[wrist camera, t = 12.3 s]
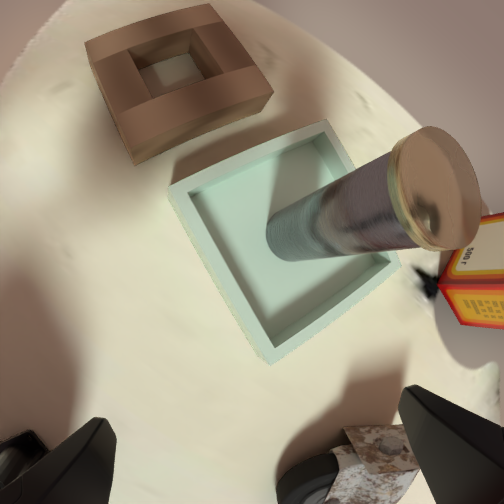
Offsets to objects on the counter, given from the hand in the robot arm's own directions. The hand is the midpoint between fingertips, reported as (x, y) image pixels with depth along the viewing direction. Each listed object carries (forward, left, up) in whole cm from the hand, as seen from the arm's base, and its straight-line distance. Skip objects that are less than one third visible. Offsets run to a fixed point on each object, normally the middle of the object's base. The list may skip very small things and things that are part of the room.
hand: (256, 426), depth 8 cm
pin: (+9, +3, -11) cm, 14 cm away
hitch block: (+7, +17, -12) cm, 22 cm away
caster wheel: (+3, -17, -12) cm, 21 cm away
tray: (+9, +3, -12) cm, 15 cm away
